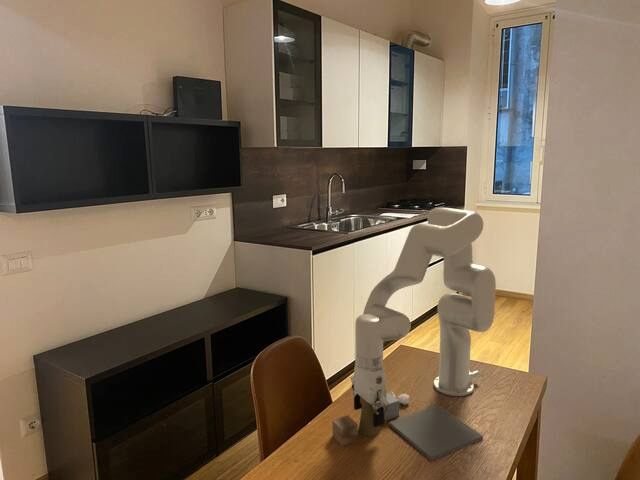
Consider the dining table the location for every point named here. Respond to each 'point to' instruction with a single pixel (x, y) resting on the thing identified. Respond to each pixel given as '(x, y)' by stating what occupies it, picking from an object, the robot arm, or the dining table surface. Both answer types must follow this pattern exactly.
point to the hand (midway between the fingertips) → (368, 416)
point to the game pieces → (402, 398)
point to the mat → (435, 432)
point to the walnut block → (345, 430)
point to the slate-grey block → (391, 407)
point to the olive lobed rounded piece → (367, 419)
